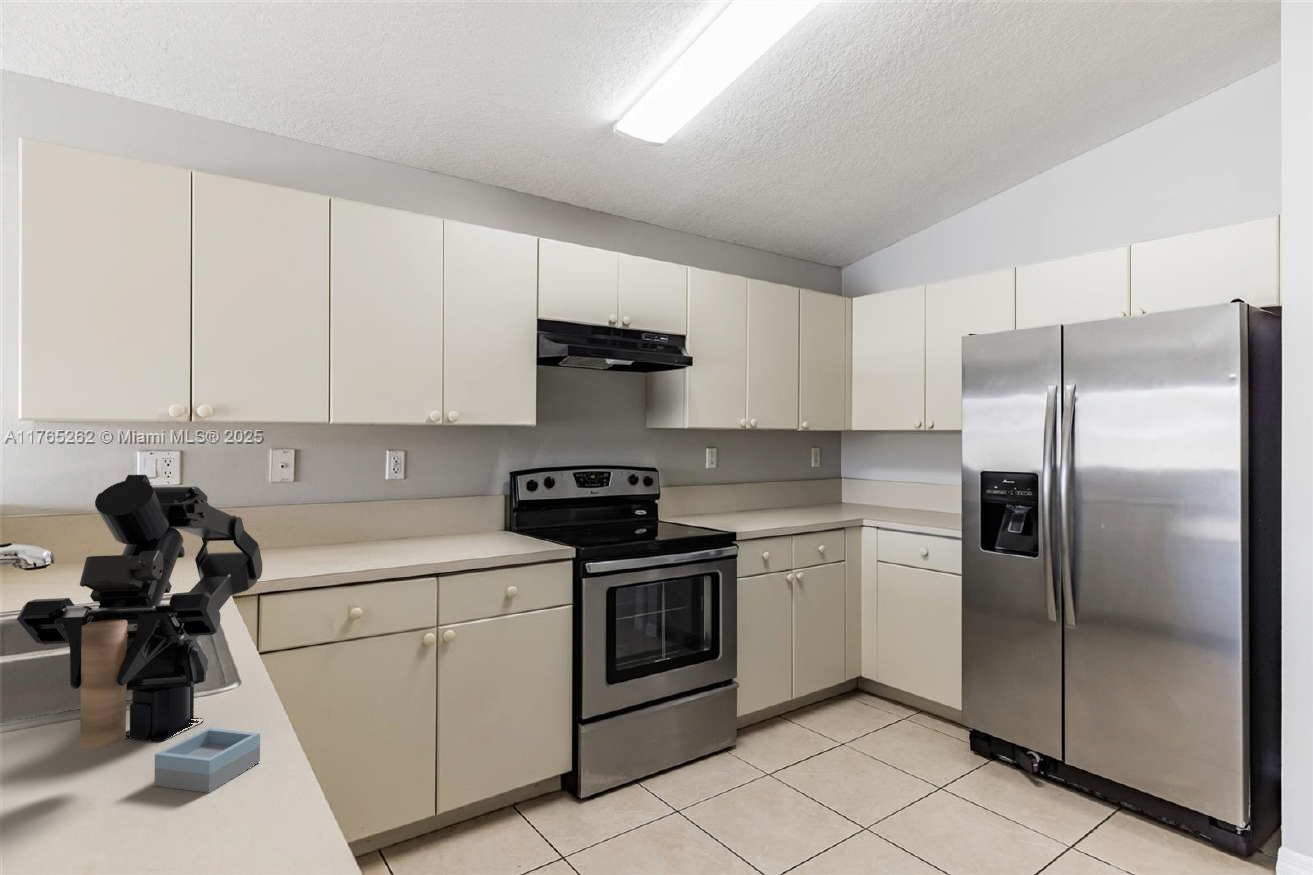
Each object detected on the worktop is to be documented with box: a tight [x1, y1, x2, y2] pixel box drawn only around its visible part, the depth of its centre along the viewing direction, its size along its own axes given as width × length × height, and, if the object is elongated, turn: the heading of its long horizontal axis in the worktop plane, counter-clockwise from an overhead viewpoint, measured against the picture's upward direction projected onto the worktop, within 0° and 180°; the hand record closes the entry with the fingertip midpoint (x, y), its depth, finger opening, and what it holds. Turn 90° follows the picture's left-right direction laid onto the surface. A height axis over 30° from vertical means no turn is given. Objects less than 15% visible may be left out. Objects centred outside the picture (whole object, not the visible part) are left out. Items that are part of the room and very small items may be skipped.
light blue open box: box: [154, 727, 261, 794], centre depth 80 cm, size 7×7×4 cm
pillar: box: [79, 619, 128, 750], centre depth 77 cm, size 4×4×13 cm
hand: (97, 685), depth 76 cm, fingers closed on pillar, 4 cm apart
